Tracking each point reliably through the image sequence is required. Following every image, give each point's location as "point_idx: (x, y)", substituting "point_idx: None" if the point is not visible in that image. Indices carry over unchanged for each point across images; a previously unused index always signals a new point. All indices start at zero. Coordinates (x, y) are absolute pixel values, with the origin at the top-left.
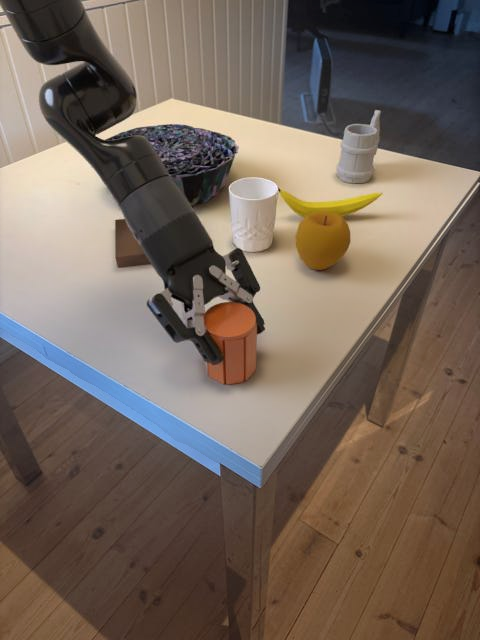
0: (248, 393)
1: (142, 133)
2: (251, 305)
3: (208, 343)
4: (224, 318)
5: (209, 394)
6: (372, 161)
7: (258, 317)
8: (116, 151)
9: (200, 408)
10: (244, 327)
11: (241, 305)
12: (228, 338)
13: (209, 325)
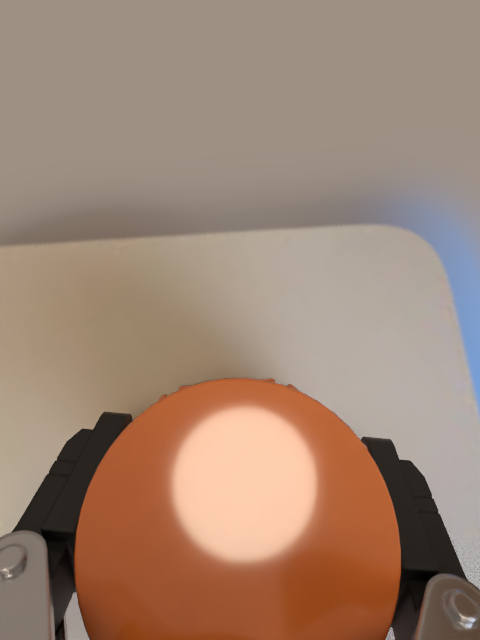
0: (292, 370)
1: None
2: (46, 518)
3: (420, 522)
4: (255, 567)
5: None
6: None
7: (81, 454)
8: None
9: (429, 446)
10: (243, 413)
11: (91, 561)
12: (356, 435)
13: (365, 603)
